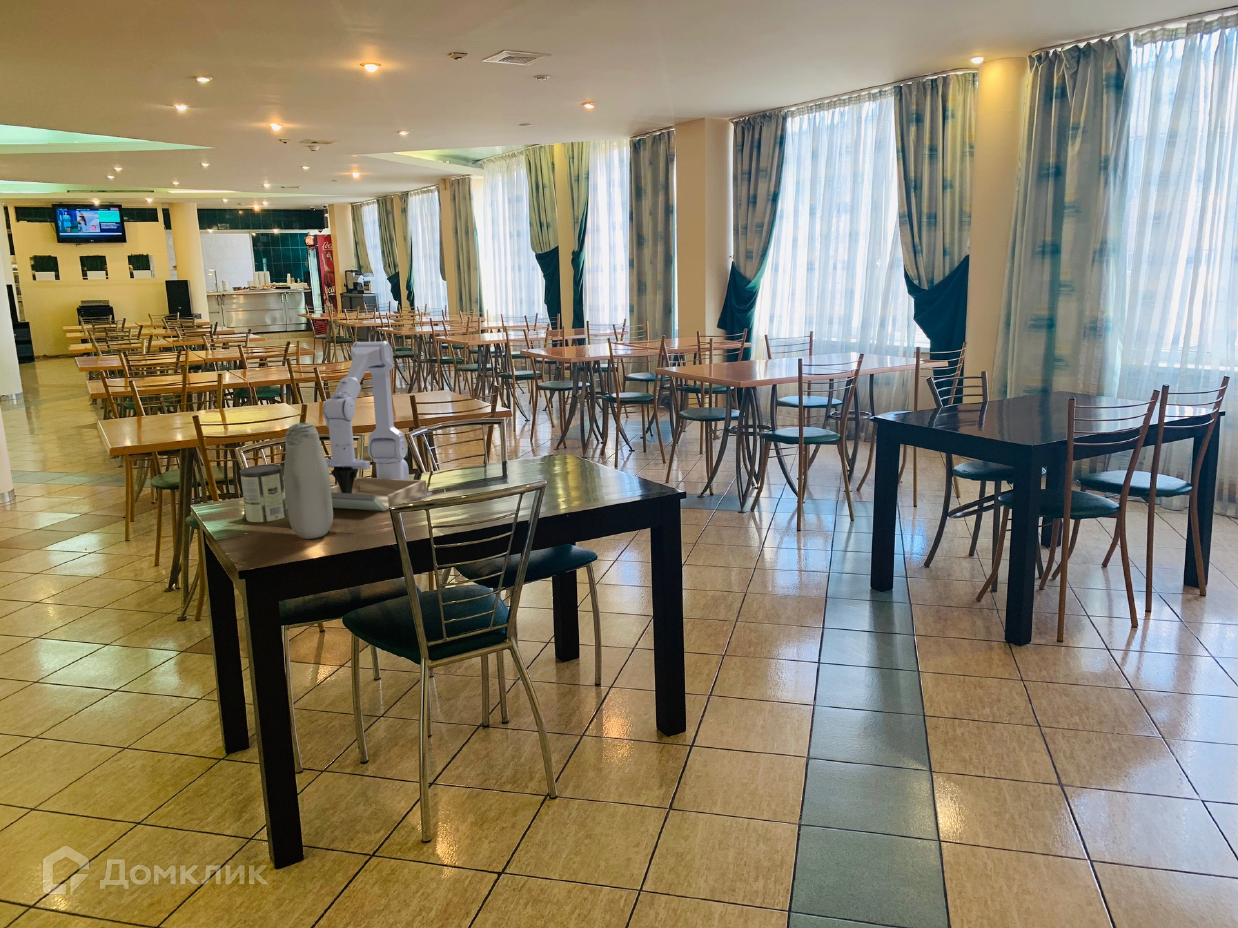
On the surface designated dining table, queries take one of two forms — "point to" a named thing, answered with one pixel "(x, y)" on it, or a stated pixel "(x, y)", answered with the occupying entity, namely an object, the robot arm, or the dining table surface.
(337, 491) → the cart bed
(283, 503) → the coffee can
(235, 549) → the dining table surface
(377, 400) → the robot arm
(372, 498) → the panel
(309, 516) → the white bottle
